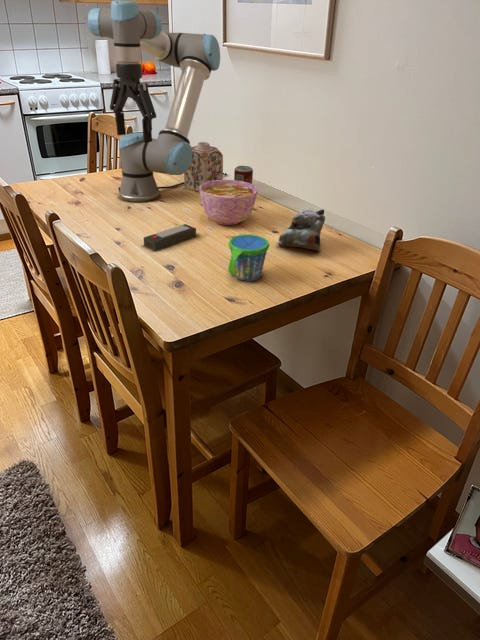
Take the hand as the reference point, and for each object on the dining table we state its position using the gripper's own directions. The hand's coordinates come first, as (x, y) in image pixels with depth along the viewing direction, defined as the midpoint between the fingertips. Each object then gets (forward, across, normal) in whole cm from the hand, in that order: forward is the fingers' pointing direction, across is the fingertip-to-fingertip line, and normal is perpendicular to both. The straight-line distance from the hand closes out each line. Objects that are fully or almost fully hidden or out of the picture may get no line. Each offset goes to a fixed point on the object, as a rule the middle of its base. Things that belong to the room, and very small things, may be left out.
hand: (134, 138), depth 154 cm
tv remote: (+27, -22, +5) cm, 35 cm away
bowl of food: (+27, -22, -21) cm, 41 cm away
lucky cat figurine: (+27, -53, -21) cm, 63 cm away
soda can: (+27, -9, -43) cm, 52 cm away
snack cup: (+27, -55, +6) cm, 62 cm away
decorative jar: (+27, +11, -41) cm, 50 cm away
